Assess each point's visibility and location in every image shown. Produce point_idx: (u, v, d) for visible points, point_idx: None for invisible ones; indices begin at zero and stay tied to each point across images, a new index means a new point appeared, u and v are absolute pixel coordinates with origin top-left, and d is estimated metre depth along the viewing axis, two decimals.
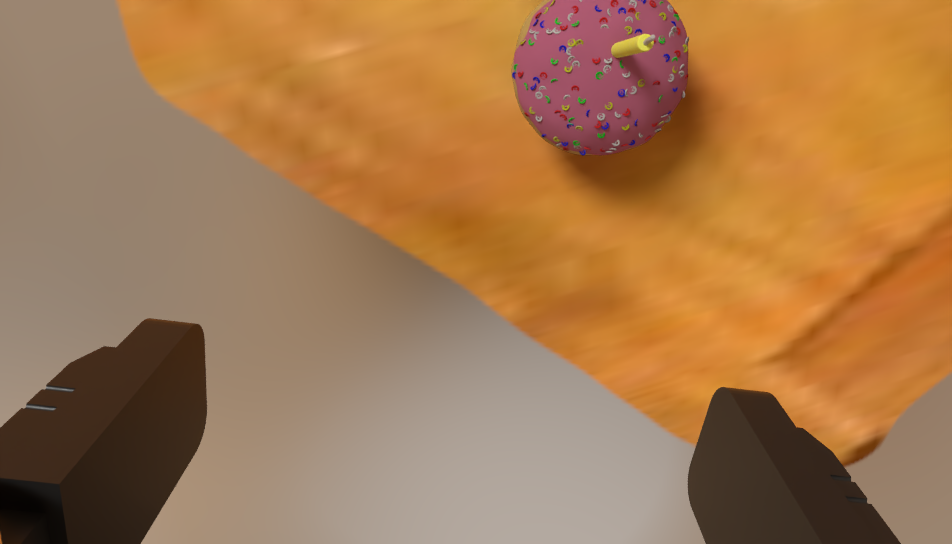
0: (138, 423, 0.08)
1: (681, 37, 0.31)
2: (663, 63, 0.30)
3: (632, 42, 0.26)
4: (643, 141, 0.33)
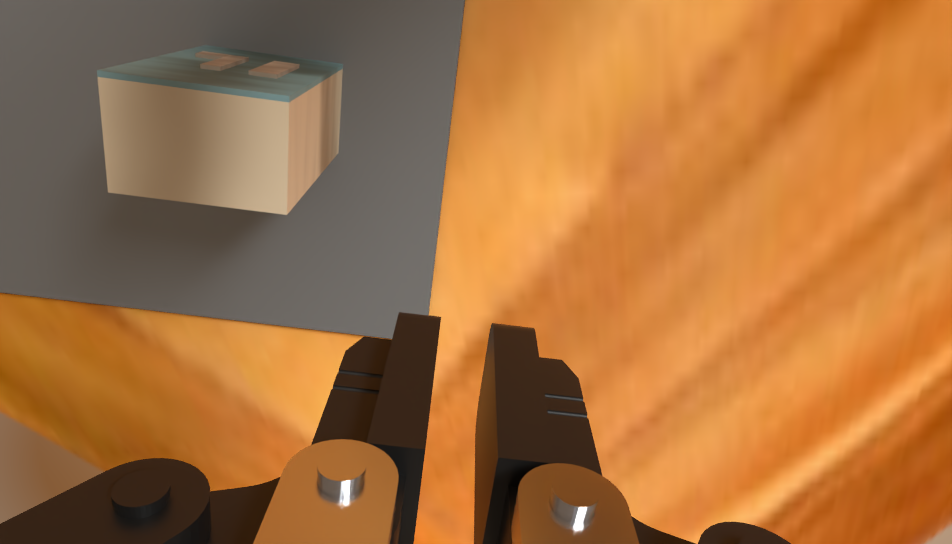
0: None
1: None
2: None
3: None
4: None
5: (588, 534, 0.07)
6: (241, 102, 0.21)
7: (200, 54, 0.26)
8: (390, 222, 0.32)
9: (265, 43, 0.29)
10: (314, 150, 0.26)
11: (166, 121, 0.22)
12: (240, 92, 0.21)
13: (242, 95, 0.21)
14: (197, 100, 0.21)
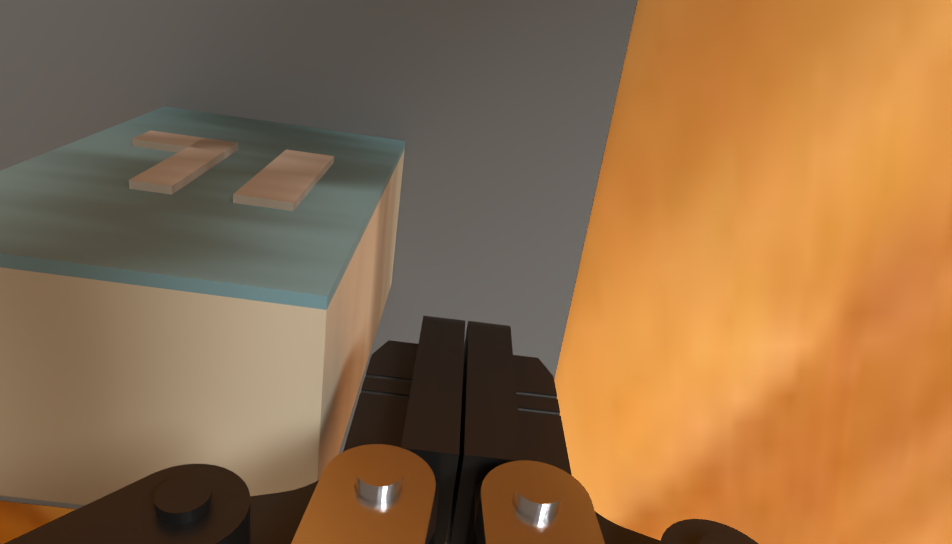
0: None
1: None
2: None
3: None
4: None
5: (550, 531, 0.07)
6: (208, 308, 0.09)
7: (142, 141, 0.13)
8: None
9: (269, 104, 0.16)
10: (363, 332, 0.13)
11: (28, 345, 0.09)
12: (205, 286, 0.08)
13: (210, 293, 0.09)
14: (100, 303, 0.09)
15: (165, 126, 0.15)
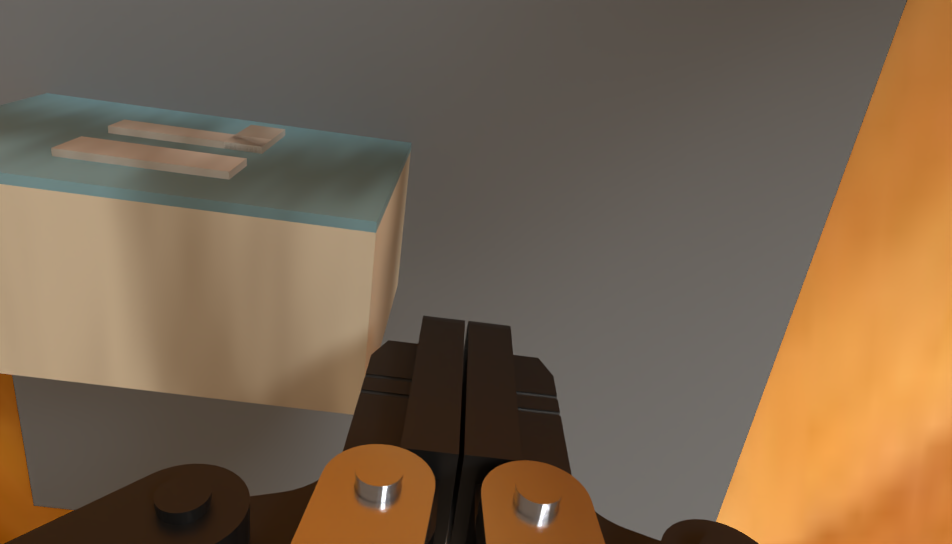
0: None
1: None
2: None
3: None
4: None
5: (550, 531, 0.07)
6: None
7: (250, 127, 0.16)
8: (675, 414, 0.20)
9: (515, 141, 0.17)
10: (84, 323, 0.12)
11: None
12: None
13: None
14: None
15: (330, 140, 0.16)
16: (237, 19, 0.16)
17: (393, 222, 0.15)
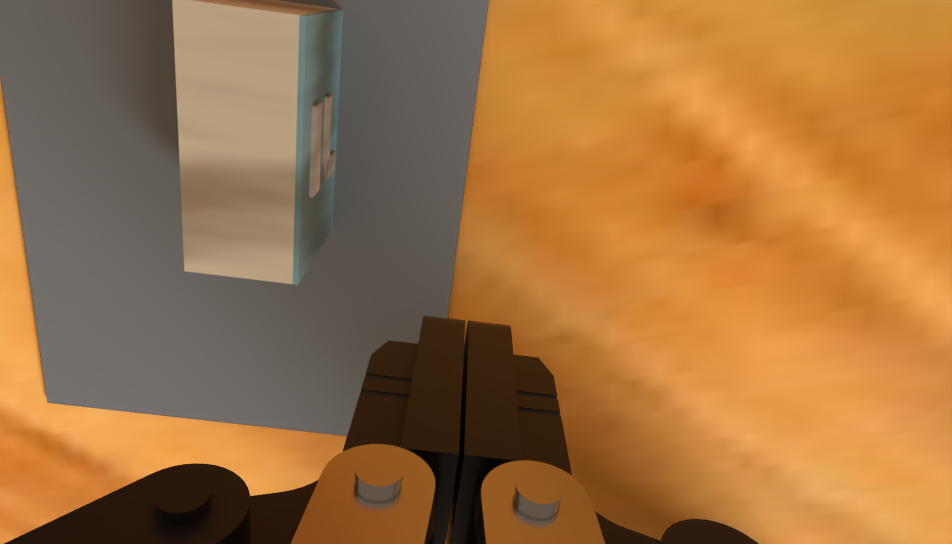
0: None
1: None
2: None
3: None
4: None
5: (550, 531, 0.07)
6: (304, 12, 0.22)
7: (333, 153, 0.27)
8: (177, 377, 0.32)
9: (338, 283, 0.30)
10: (219, 131, 0.22)
11: (295, 6, 0.24)
12: (314, 13, 0.22)
13: (311, 12, 0.22)
14: (310, 10, 0.23)
15: (330, 193, 0.28)
16: (393, 137, 0.28)
17: None
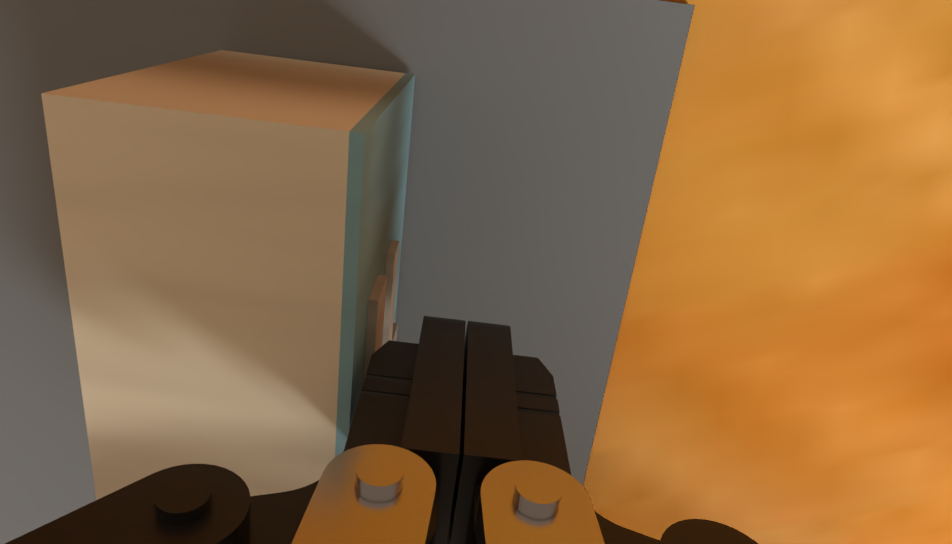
0: None
1: None
2: None
3: None
4: None
5: (549, 531, 0.07)
6: (355, 108, 0.10)
7: (395, 328, 0.15)
8: None
9: None
10: (168, 373, 0.10)
11: (329, 79, 0.12)
12: (377, 110, 0.10)
13: (371, 109, 0.10)
14: (363, 93, 0.11)
15: None
16: (497, 285, 0.16)
17: None
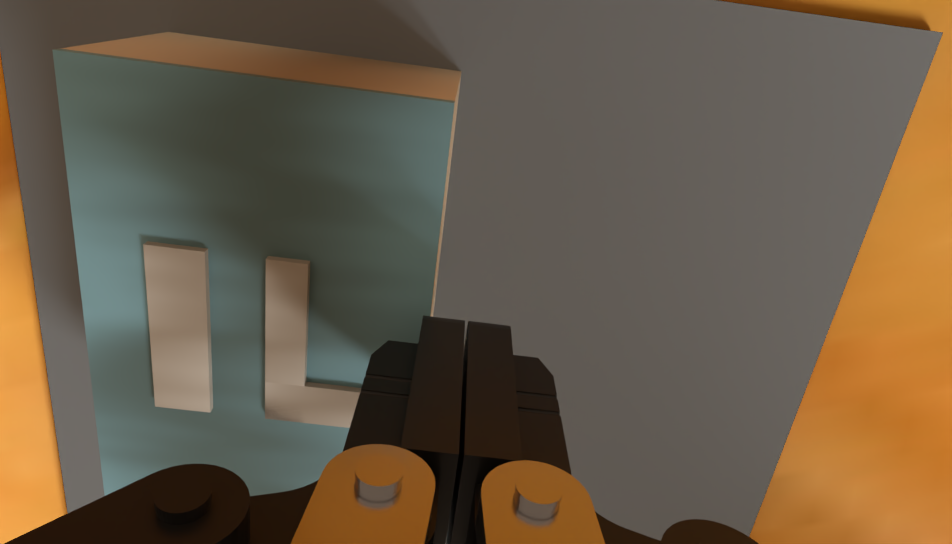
0: None
1: None
2: None
3: None
4: None
5: (549, 531, 0.07)
6: (166, 60, 0.10)
7: (355, 392, 0.12)
8: None
9: None
10: None
11: (333, 73, 0.11)
12: (159, 61, 0.10)
13: (157, 60, 0.10)
14: (259, 71, 0.11)
15: None
16: (703, 307, 0.16)
17: None
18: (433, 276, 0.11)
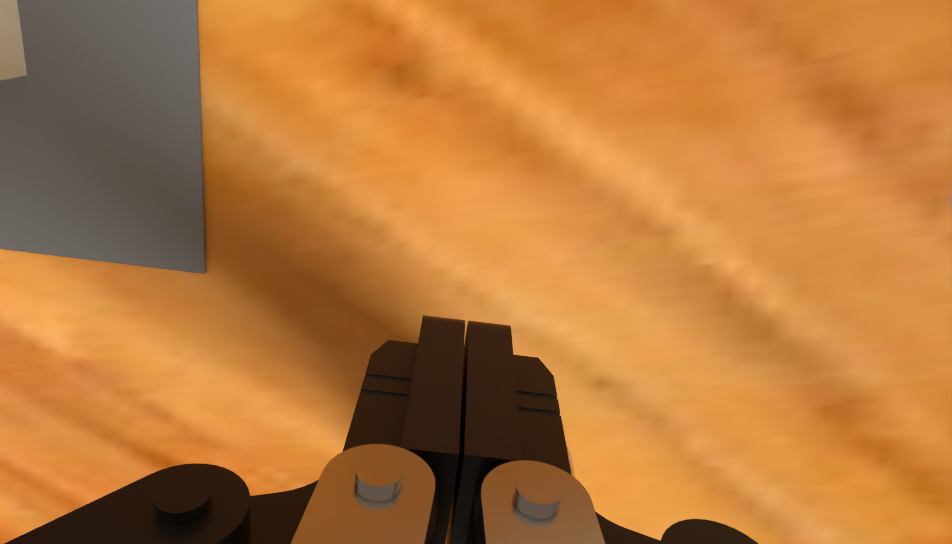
0: None
1: None
2: None
3: None
4: None
5: (550, 531, 0.07)
6: None
7: None
8: None
9: (111, 131, 0.39)
10: None
11: None
12: None
13: None
14: None
15: None
16: (136, 8, 0.36)
17: None
18: None
